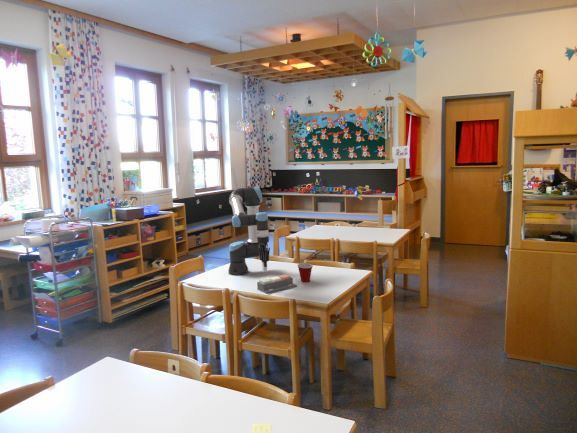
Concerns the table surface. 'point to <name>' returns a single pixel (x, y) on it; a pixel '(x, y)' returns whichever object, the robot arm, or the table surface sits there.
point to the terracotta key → (284, 277)
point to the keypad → (276, 286)
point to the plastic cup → (305, 271)
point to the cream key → (275, 279)
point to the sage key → (265, 281)
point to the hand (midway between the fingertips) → (264, 271)
